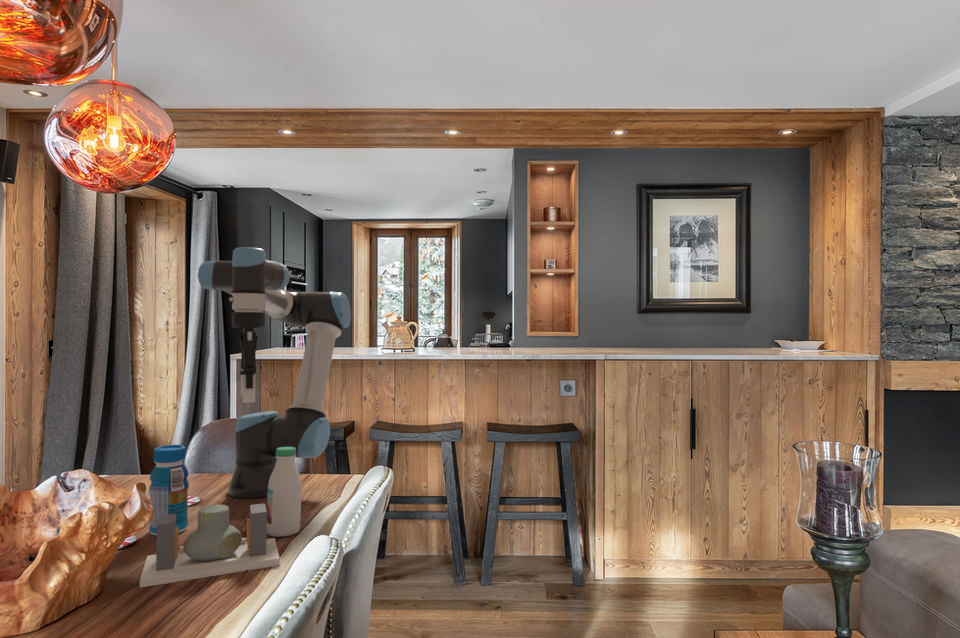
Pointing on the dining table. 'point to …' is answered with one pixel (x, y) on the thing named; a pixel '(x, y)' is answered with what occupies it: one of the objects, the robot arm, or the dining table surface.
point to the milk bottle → (284, 495)
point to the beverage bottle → (169, 486)
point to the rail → (181, 567)
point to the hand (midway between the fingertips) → (247, 398)
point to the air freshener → (212, 535)
